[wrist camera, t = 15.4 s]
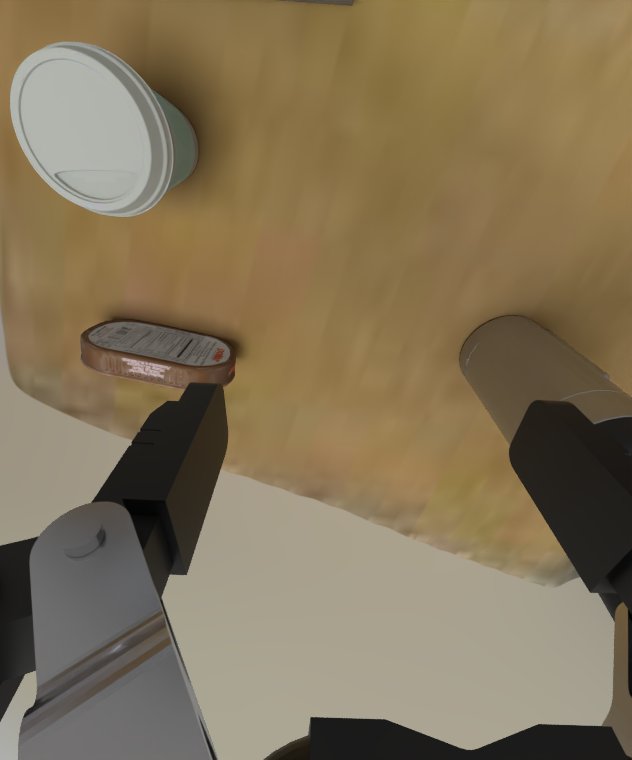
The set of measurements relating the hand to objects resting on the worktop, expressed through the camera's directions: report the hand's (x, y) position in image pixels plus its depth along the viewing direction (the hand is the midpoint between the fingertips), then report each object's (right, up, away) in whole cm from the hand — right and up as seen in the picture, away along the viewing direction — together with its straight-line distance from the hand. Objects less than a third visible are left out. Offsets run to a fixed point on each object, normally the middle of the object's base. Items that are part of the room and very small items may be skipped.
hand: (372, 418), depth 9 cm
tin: (-17, +6, +30) cm, 35 cm away
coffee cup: (-14, +21, +20) cm, 33 cm away
